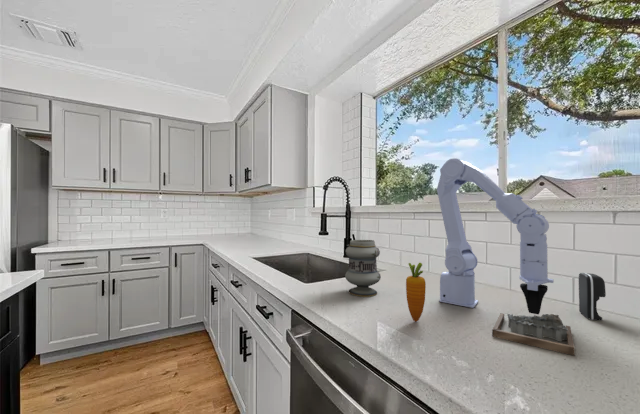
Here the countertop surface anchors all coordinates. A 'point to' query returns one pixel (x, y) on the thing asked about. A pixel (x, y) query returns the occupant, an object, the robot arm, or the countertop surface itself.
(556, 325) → the egg carton
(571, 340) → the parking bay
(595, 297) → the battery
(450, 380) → the countertop surface
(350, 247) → the apothecary jar
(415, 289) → the carrot
